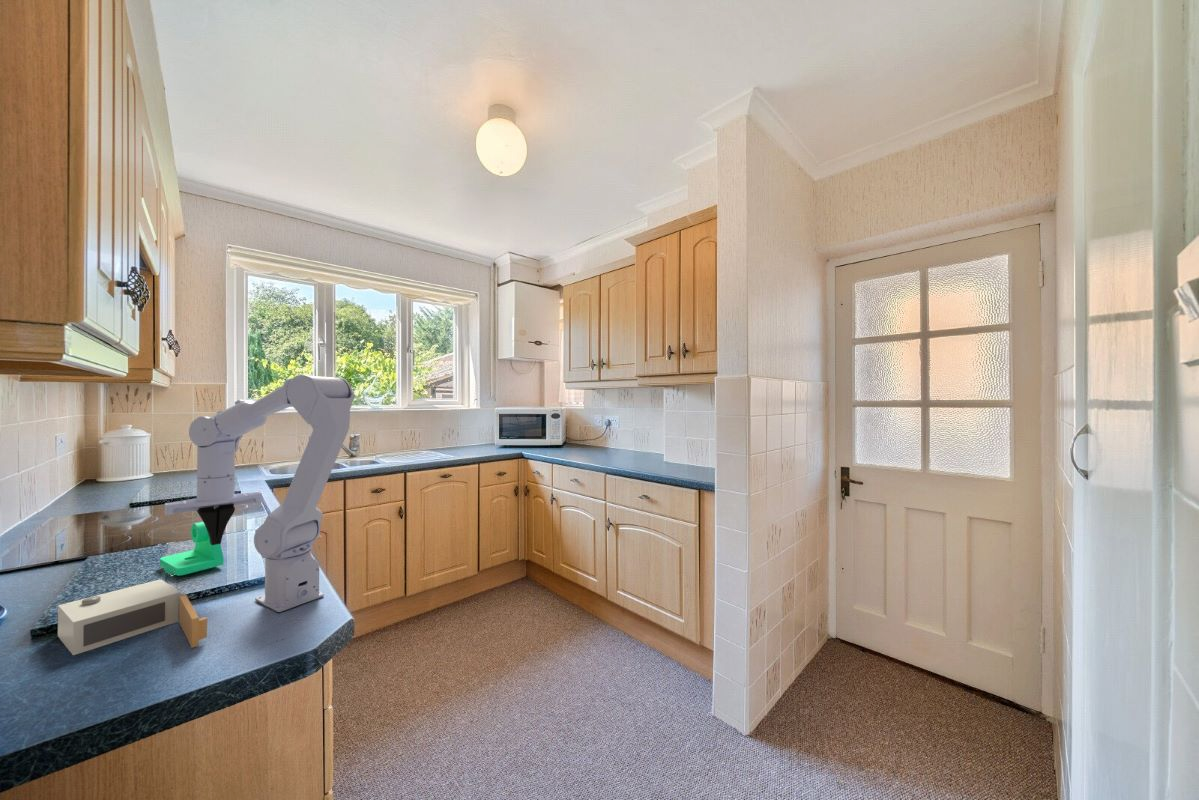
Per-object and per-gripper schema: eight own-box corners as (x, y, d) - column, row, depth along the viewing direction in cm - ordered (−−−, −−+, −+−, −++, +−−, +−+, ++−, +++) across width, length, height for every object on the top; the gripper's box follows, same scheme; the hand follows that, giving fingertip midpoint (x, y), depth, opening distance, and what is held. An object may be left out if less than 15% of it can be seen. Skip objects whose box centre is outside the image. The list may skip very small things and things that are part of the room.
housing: (180, 620, 75) (181, 588, 75) (73, 655, 65) (73, 618, 65) (158, 604, 81) (158, 574, 81) (56, 634, 71) (56, 599, 71)
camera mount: (158, 569, 97) (158, 523, 97) (202, 558, 104) (202, 516, 104) (178, 581, 91) (178, 532, 91) (223, 569, 98) (223, 524, 98)
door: (177, 620, 75) (177, 595, 75) (192, 616, 76) (192, 591, 76) (190, 648, 67) (191, 619, 67) (207, 642, 68) (207, 615, 68)
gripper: (256, 469, 95) (255, 531, 95) (163, 478, 84) (162, 547, 84) (264, 473, 91) (264, 538, 91) (167, 483, 80) (166, 556, 80)
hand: (215, 543), depth 87 cm, fingers closed
